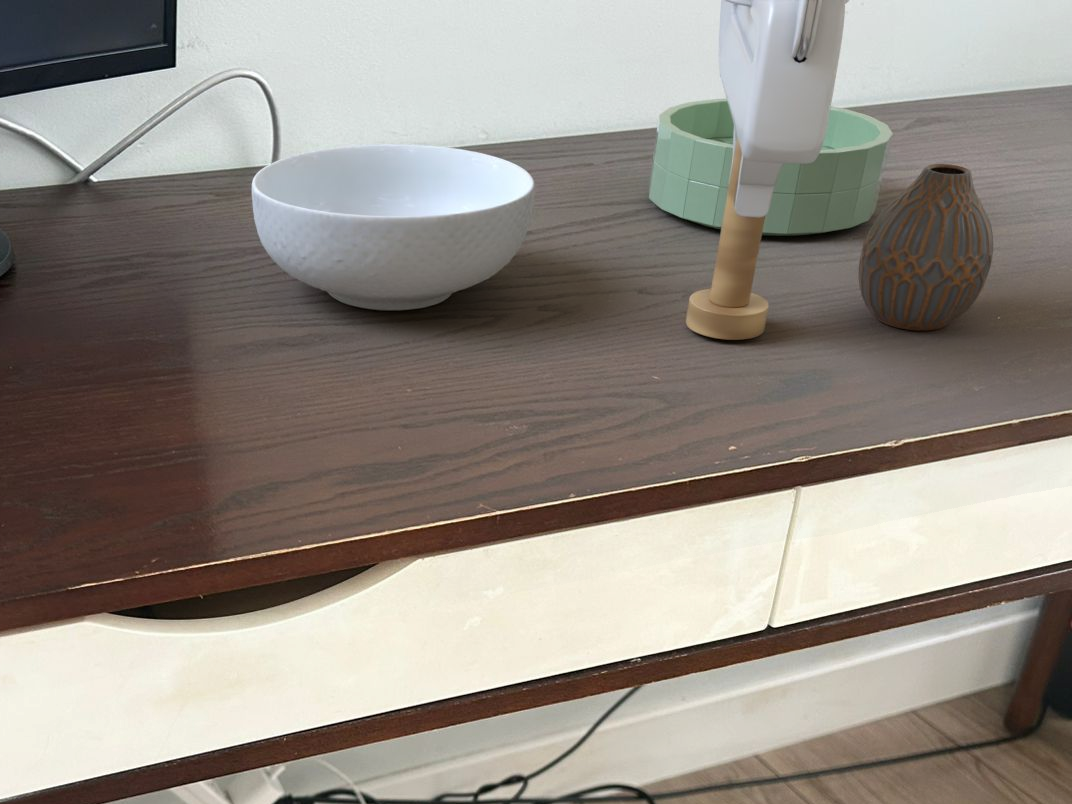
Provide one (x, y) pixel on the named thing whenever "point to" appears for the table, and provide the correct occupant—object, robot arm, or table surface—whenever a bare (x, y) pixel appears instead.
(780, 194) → the green round tub
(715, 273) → the stirring stick
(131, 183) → the table surface
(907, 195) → the vase
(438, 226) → the cereal bowl
